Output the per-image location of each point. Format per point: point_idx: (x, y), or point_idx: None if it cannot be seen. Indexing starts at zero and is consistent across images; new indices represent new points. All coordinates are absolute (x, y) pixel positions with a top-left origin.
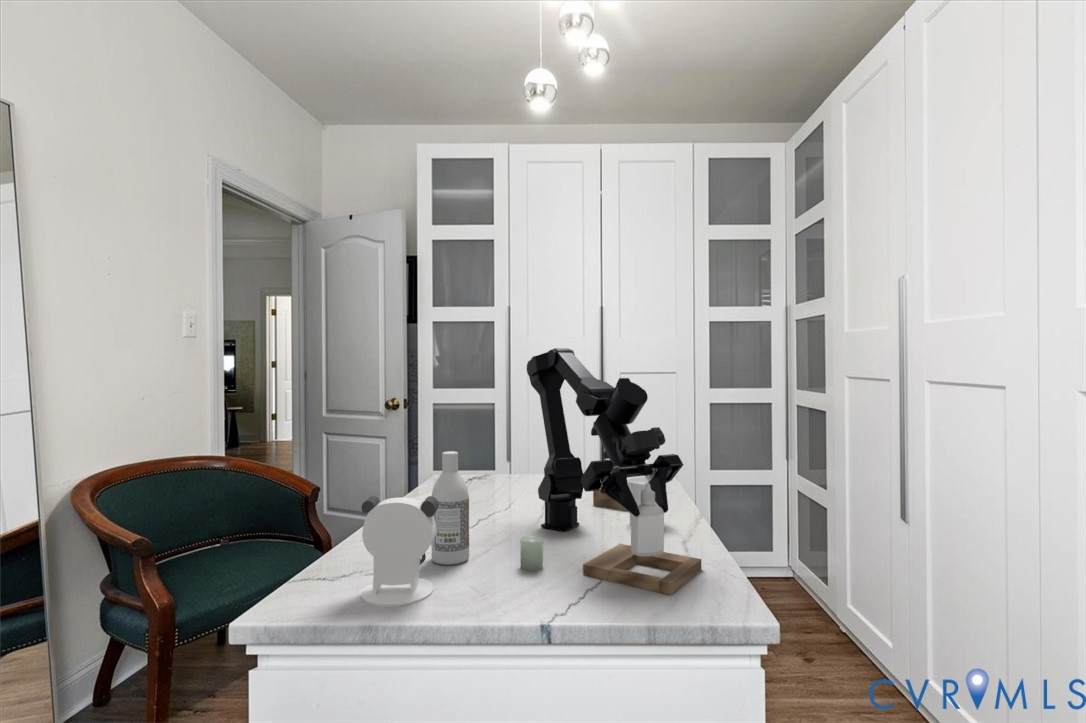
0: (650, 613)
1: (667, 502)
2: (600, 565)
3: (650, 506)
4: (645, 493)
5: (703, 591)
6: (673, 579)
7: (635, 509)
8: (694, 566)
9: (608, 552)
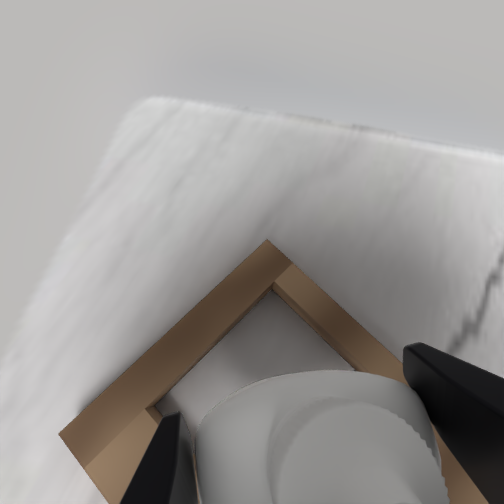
0: (345, 172)
1: (141, 462)
2: None
3: (321, 394)
4: (407, 427)
5: (171, 257)
6: (247, 265)
7: (449, 356)
8: (120, 377)
9: None
